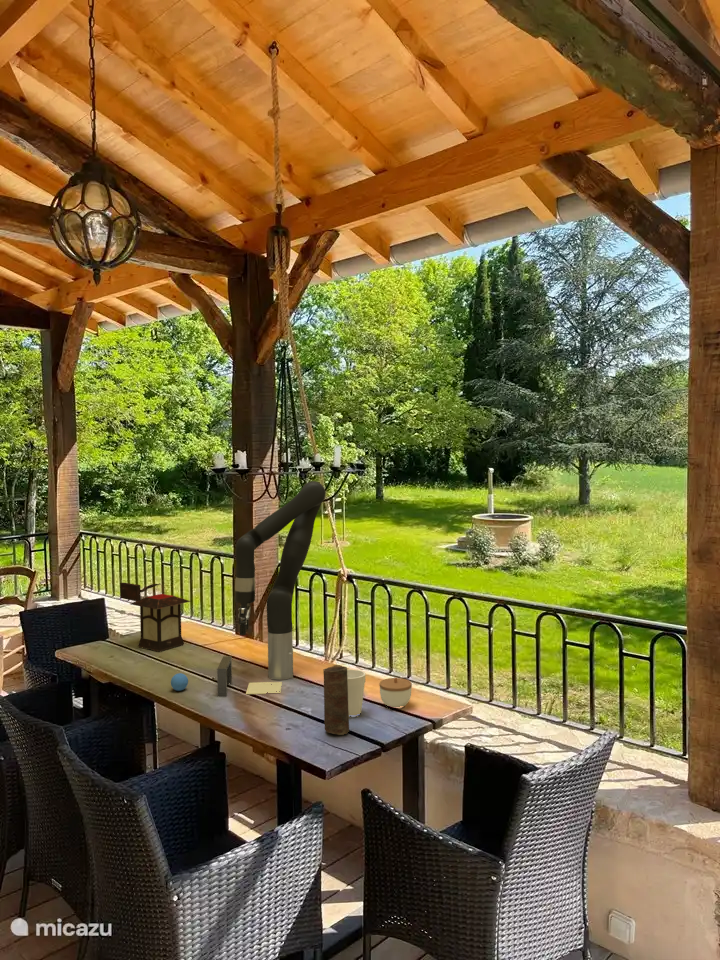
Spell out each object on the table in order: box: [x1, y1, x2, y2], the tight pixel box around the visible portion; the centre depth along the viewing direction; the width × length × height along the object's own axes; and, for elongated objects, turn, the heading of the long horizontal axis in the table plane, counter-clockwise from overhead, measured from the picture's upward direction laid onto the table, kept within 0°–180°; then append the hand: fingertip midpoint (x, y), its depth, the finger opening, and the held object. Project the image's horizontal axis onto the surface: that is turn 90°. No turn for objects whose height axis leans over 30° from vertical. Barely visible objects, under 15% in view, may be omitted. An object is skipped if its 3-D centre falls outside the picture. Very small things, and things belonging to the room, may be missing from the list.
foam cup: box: [347, 668, 366, 715], centre depth 228 cm, size 10×9×13 cm
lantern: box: [119, 582, 191, 653], centre depth 306 cm, size 18×26×30 cm
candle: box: [323, 664, 350, 736], centre depth 212 cm, size 8×7×20 cm
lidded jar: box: [378, 677, 413, 707], centre depth 234 cm, size 11×11×9 cm
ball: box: [170, 672, 189, 692], centre depth 252 cm, size 6×6×6 cm
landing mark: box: [245, 681, 283, 695], centre depth 253 cm, size 12×12×1 cm
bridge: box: [216, 655, 233, 697], centre depth 252 cm, size 3×15×10 cm, turn 3°
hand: (244, 632), depth 265 cm, fingers open, 8 cm apart
